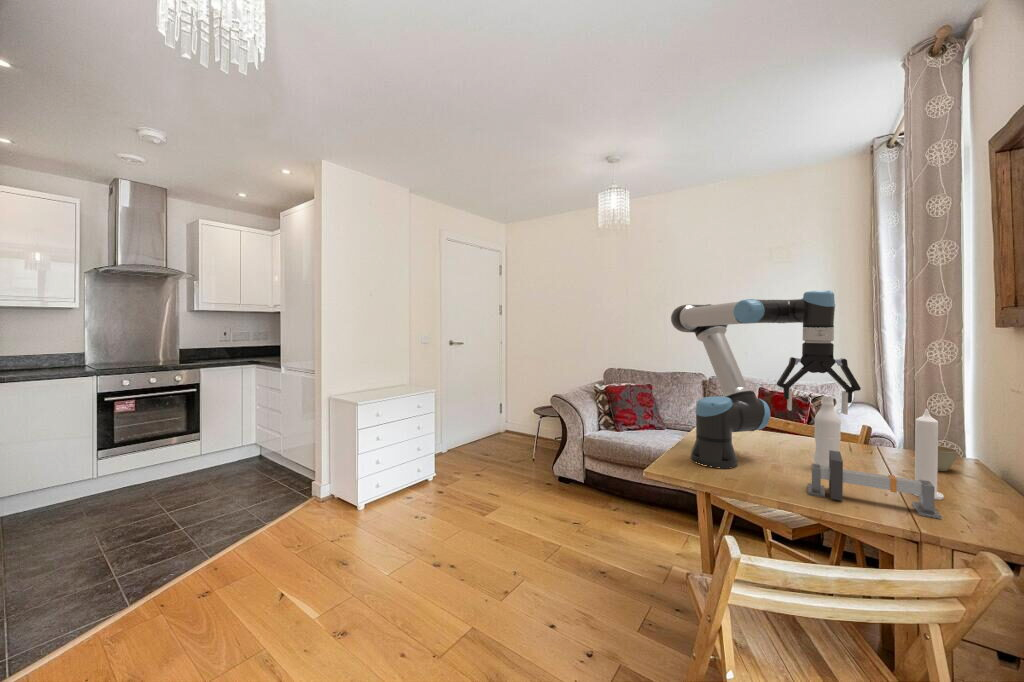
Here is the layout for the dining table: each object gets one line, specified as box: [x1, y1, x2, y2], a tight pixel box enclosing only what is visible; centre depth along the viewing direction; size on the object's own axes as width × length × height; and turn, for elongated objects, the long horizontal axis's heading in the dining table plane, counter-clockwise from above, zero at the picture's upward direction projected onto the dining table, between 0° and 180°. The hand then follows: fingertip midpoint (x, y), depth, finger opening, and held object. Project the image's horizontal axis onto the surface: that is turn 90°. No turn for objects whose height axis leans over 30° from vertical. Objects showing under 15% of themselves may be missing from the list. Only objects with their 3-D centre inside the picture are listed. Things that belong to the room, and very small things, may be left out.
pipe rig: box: [806, 463, 942, 520], centre depth 111 cm, size 27×8×8 cm, turn 54°
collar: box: [828, 450, 844, 502], centre depth 115 cm, size 2×11×11 cm, turn 143°
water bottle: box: [813, 396, 842, 467], centre depth 135 cm, size 7×7×25 cm
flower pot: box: [937, 445, 959, 472], centre depth 136 cm, size 10×10×7 cm
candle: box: [912, 408, 945, 501], centre depth 114 cm, size 7×7×25 cm
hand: (816, 411), depth 121 cm, fingers open, 13 cm apart
